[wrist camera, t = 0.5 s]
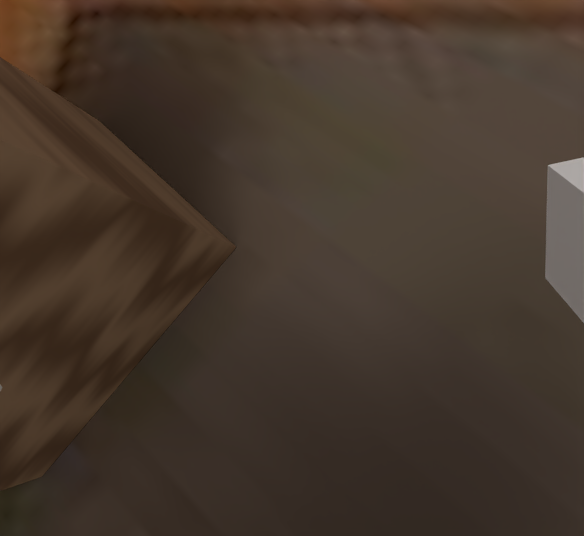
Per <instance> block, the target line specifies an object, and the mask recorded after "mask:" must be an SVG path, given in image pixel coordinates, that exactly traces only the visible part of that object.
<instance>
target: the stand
mask: <svg viewBox="0 0 584 536" xmlns="http://www.w3.org/2000/svg"><path fill="white" fill-rule="evenodd" d="M235 248H236V246H235V245H234V244H232V243H231V242H230V241H229V240H228V239H227V238H226V237H225V236H224V235H223V234H222V233H220V232H219V231H218V230H217V229H216V228H215V227H214V226H213V225H212V224H211V223H210V222H209V221H207V220H206V219H205V218H204V217H203V216H202V215H201V214H200V213H199V212H198V211H197V210H195V209H194V208H193V207H192V206H191V205H190V204H189V203H188V202H187V201H186V200H185V199H183V198H182V197H181V196H180V195H179V194H178V193H177V192H176V191H175V190H174V189H173V188H172V187H170V186H169V185H168V184H167V183H166V182H165V181H164V180H163V179H162V178H161V177H160V176H158V175H157V174H156V173H155V172H154V171H153V170H152V169H151V168H150V167H149V166H148V165H147V164H145V163H144V162H143V161H142V160H141V159H140V158H139V157H138V156H137V155H136V154H135V153H133V152H132V151H131V150H130V149H129V148H128V147H127V146H126V145H125V144H124V143H123V142H122V141H120V140H119V139H118V138H117V137H116V136H115V135H114V134H113V133H112V132H111V131H110V130H108V129H107V128H106V127H105V126H104V125H103V124H102V123H101V122H100V121H98V120H97V119H95V118H94V117H92V116H91V115H89V114H88V113H86V112H84V111H83V110H81V109H80V108H78V107H77V106H75V105H74V104H72V103H70V102H69V101H67V100H66V99H64V98H63V97H61V96H60V95H58V94H56V93H55V92H53V91H52V90H50V89H49V88H47V87H46V86H44V85H42V84H41V83H39V82H38V81H36V80H35V79H33V78H32V77H30V76H28V75H27V74H25V73H24V72H22V71H21V70H19V69H18V68H16V67H14V66H13V65H11V64H10V63H8V62H7V61H5V60H3V59H2V58H0V384H1V386H2V389H1V391H0V491H2V490H5V489H8V488H11V487H13V486H16V485H19V484H22V483H25V482H28V481H31V480H34V479H37V478H40V477H42V476H43V475H44V474H45V472H46V471H47V470H48V469H49V468H50V466H51V465H52V464H53V463H54V462H55V461H56V459H57V458H58V457H59V456H60V455H61V453H62V452H63V451H64V450H65V449H66V448H67V446H68V445H69V444H70V443H71V442H72V441H73V439H74V438H75V437H76V436H77V435H78V433H79V432H80V431H81V430H82V429H83V428H84V426H85V425H86V424H87V423H88V422H89V420H90V419H91V418H92V417H93V416H94V415H95V413H96V412H97V411H98V410H99V409H100V407H101V406H102V405H103V404H104V403H105V402H106V400H107V399H108V398H109V397H110V396H111V395H112V393H113V392H114V391H115V390H116V389H117V387H118V386H119V385H120V384H121V383H122V382H123V380H124V379H125V378H126V377H127V376H128V374H129V373H130V372H131V371H132V370H133V369H134V367H135V366H136V365H137V364H138V363H139V361H140V360H141V359H142V358H143V357H144V356H145V354H146V353H147V352H148V351H149V350H150V349H151V347H152V346H153V345H154V344H155V343H156V341H157V340H158V339H159V338H160V337H161V336H162V334H163V333H164V332H165V331H166V330H167V328H168V327H169V326H170V325H171V324H172V323H173V321H174V320H175V319H176V318H177V317H178V315H179V314H180V313H181V312H182V311H183V310H184V308H185V307H186V306H187V305H188V304H189V303H190V301H191V300H192V299H193V298H194V297H195V295H196V294H197V293H198V292H199V291H200V290H201V288H202V287H203V286H204V285H205V284H206V282H207V281H208V280H209V279H210V278H211V277H212V275H213V274H214V273H215V272H216V271H217V269H218V268H219V267H220V266H221V265H222V264H223V262H224V261H225V260H226V259H227V258H228V257H229V255H230V254H231V253H232V252H233V251H234V249H235Z"/></svg>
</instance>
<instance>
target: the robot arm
mask: <svg viewBox="0 0 584 536" xmlns="http://www.w3.org/2000/svg"><path fill="white" fill-rule="evenodd" d="M545 278H546V279H547V280H548V282H549V283H550V284H551V285H552V286H553V288H554V289H555V290H556V291H557V292H558V293H559V295H560V296H561V297H562V298H563V299H564V300H565V302H566V303H567V304H568V305H569V306H570V307H571V309H572V310H573V311H574V312H575V313H576V314H577V316H578V317H579V318H580V319H581V320H582V321H583V323H584V158H579V159H574V160H570V161H565V162H560V163H556V164H551V165H548V179H547V223H546V266H545ZM1 389H2V386H1V384H0V391H1Z"/></svg>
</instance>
